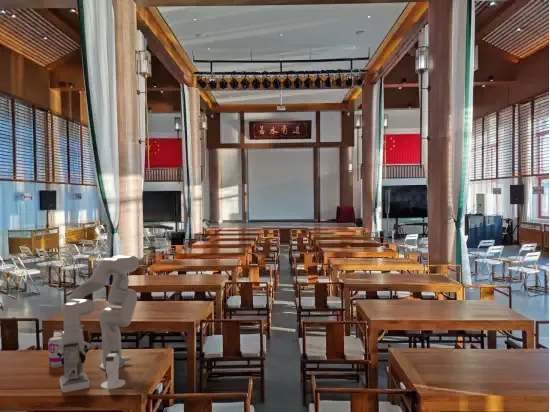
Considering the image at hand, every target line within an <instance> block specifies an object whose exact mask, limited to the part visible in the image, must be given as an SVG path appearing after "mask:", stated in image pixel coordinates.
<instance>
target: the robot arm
mask: <svg viewBox="0 0 550 412" xmlns="http://www.w3.org/2000/svg"><path fill="white" fill-rule="evenodd" d="M138 268H139V258H137V257H136V256H133V255H114V256H113V255H112V256H111V257H105V258H102V259H101V260H100V261H99V262H98V264H97V266H96V267H95V268H94V271H93V273H92V274H91V275H90V277H89V278H88V280H86V281H85V282H83V283H82V284H80V285H78V286H77V287H76V288H75V289H74V290H73V291H72V293H71V294H70V295H69V298H67V301H66V303H64V304H63V305H62V306H63V307H62V315H63V319H62V320H63V331H62V332H61V336H62V338H61V345H60V346H59V347H57V348H56V349H55V350H54V352H55V353H56V354H57V355H58V356H59V357H60V358H61V363H62V365H63V366H62V367H63V368H64V347H63V346H64V345H68V344H76V343H79V351H81V352H82V363H83V364H85V361H86V354H87V353H88V352H89V351H90V349H91V347H92V344H91V343H89V342H87V341H85V337H84V331H83V329H82V328H84V327H85V325H84V324H81V316H87V315H90V314H92V313H93V312H94V311H95V309H96V304H95V301H93V300H92V299H88V298H85V297H86V296H88V295H90V294H93V293H95V292H98V291H100V290H103V289H104V287H106V284H107V282H108V281H109V279H110V277H111V275H112V283H111V287H110V290H109V292H108V296H107V297H108V298H107V302H108V304H109V305H111V306H114V307H105V308H103V309H101V310H100V313H99V316H98V317H99V319H98V320H99V324H100V328H101V329H100V330H101V340H102V341H101V343H102V344H101V345H102V347H101V348H102V363H101V364H100V365H99V369H101V370H104V371H106V368H105V364H106V357H107V356H108V354H110V352H111V351H119V355H118V356H119V369H122V368H123V367H124V366H125V365H126V364H125V362H129V361H131V360H132V359H131V356H123V355H122V338H121V337H122V335H121V330H120V328H121V327H123V328H124V327H128V326H129V325H130V324H131V322H132V320H133V316H134V313H135V310H136V307H137V302H138V294H137V292H136V290H135V289H132V288H128V286H129V282H130V279H129V277H128V274H130V273H132V272H135V271H136V270H137V269H138ZM85 346H87V347H86V348H85ZM60 349H62V354H61V353H59V352H58V351H59V350H60Z"/></svg>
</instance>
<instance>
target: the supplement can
mask: <svg viewBox="0 0 550 412" xmlns="http://www.w3.org/2000/svg"><path fill="white" fill-rule="evenodd" d="M61 338H62V335H61V336H59V335H57V336H52V337H50V338H49V340H48V342H47V343H48V345H47V346H48V365H49V367H50V368H53V369H55V368H61V367H63V365H62V363H61V358H60V357H59V356H58V355H57V354H56V353H55V352H54V350H55V349H56V348H57V347H59V346H60V345H61ZM58 352H59V353H61V354H62V349H60V350H59V351H58Z"/></svg>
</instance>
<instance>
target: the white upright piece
mask: <svg viewBox="0 0 550 412" xmlns="http://www.w3.org/2000/svg"><path fill="white" fill-rule="evenodd" d="M118 355H119V351H111V352H110V354H108V356H107V357H106V364H105V368H106V370H105V372H106V374H105V378H106V380H105V381H103V382H102V383H101V384H100V387H101V388H102V389H105V390H115V389H117V388H121V387H123V386H125V385H126V380H124V379H121V378H120V379H119V369H120V368H119V356H118Z"/></svg>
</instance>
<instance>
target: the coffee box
mask: <svg viewBox="0 0 550 412" xmlns="http://www.w3.org/2000/svg"><path fill="white" fill-rule="evenodd" d="M63 347H64V367H63V368H64V370H63V371H64V372H63V374H64V376H65V379H72V378H78V377H79V376H80V375H81V374H82V373H83V372H84V363H82V352H81V351H79V343H76V344H68V345H64V346H63Z"/></svg>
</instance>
